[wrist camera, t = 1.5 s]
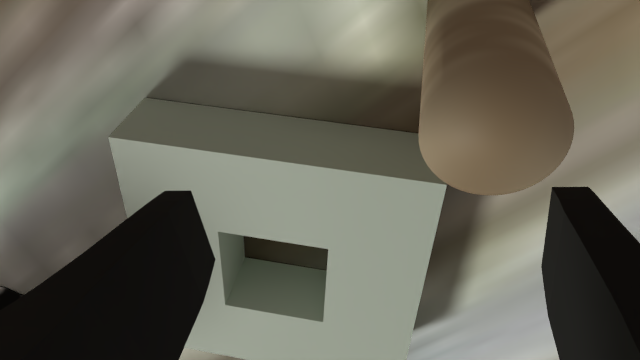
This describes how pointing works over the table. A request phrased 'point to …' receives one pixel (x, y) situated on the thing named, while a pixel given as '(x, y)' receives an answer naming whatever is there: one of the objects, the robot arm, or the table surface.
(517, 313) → the table surface
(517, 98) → the peg
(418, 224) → the wick holder
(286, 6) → the table surface
